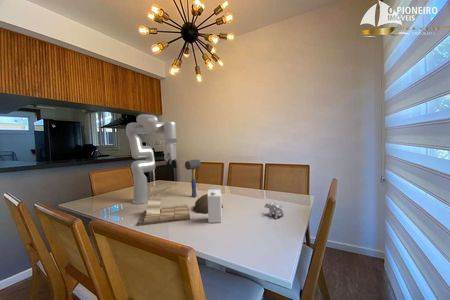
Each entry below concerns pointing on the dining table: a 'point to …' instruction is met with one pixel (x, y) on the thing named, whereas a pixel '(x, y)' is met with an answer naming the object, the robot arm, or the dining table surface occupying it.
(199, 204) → the decorative dome
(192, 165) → the rubber mallet
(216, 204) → the milk carton
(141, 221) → the floor board
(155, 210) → the loose plank
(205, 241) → the dining table surface
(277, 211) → the elephant statuette
